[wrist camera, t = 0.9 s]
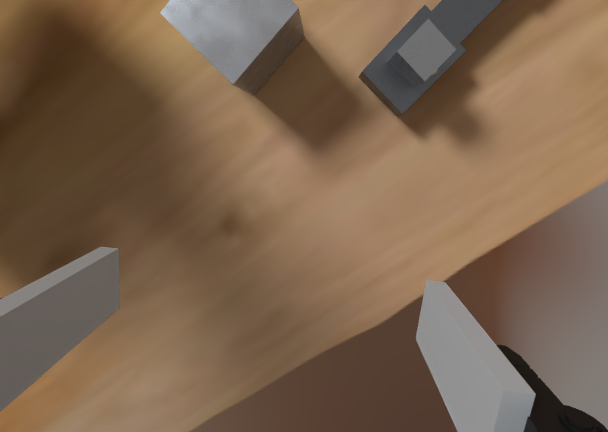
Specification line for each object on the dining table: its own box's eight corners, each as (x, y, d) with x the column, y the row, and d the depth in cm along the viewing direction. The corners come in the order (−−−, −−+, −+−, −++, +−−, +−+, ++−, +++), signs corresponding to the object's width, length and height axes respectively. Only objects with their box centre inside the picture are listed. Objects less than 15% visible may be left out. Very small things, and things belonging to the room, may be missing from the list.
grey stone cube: (198, 40, 34) (160, 13, 26) (248, -22, 32) (223, -71, 25) (253, 95, 35) (232, 84, 27) (304, 37, 33) (298, 7, 25)
